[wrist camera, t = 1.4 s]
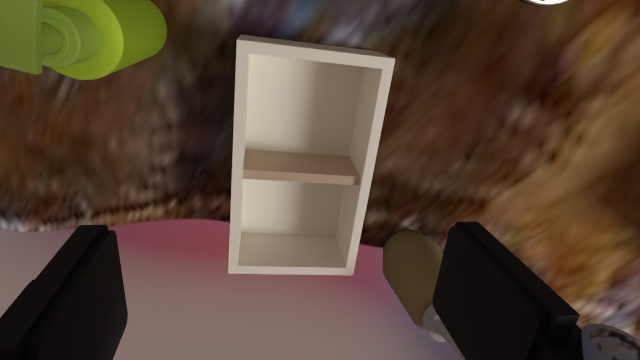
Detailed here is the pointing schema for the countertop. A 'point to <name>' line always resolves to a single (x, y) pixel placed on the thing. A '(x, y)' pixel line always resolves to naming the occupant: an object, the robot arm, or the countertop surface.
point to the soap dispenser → (79, 35)
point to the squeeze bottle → (416, 279)
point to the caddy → (303, 154)
